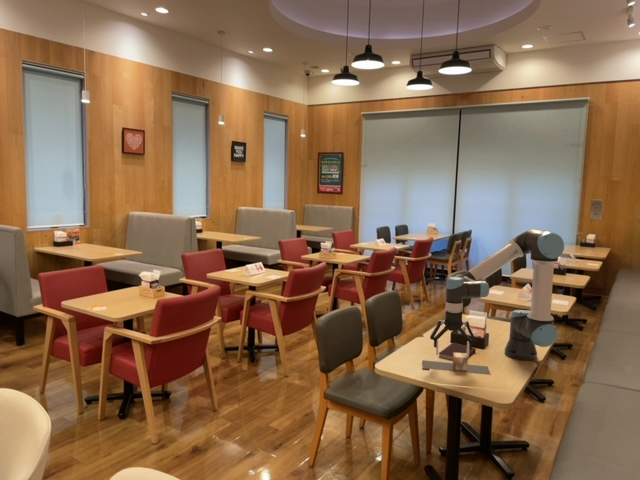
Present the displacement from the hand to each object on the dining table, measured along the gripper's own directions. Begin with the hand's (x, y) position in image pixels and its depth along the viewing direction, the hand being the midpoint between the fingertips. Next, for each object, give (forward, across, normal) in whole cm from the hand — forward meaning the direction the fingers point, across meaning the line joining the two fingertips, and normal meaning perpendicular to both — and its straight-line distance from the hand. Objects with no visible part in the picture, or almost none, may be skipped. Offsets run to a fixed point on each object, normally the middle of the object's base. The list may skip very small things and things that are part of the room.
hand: (452, 355), depth 222 cm
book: (+7, -4, -18) cm, 20 cm away
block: (+3, -7, 0) cm, 7 cm away
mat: (+6, -2, 0) cm, 6 cm away
